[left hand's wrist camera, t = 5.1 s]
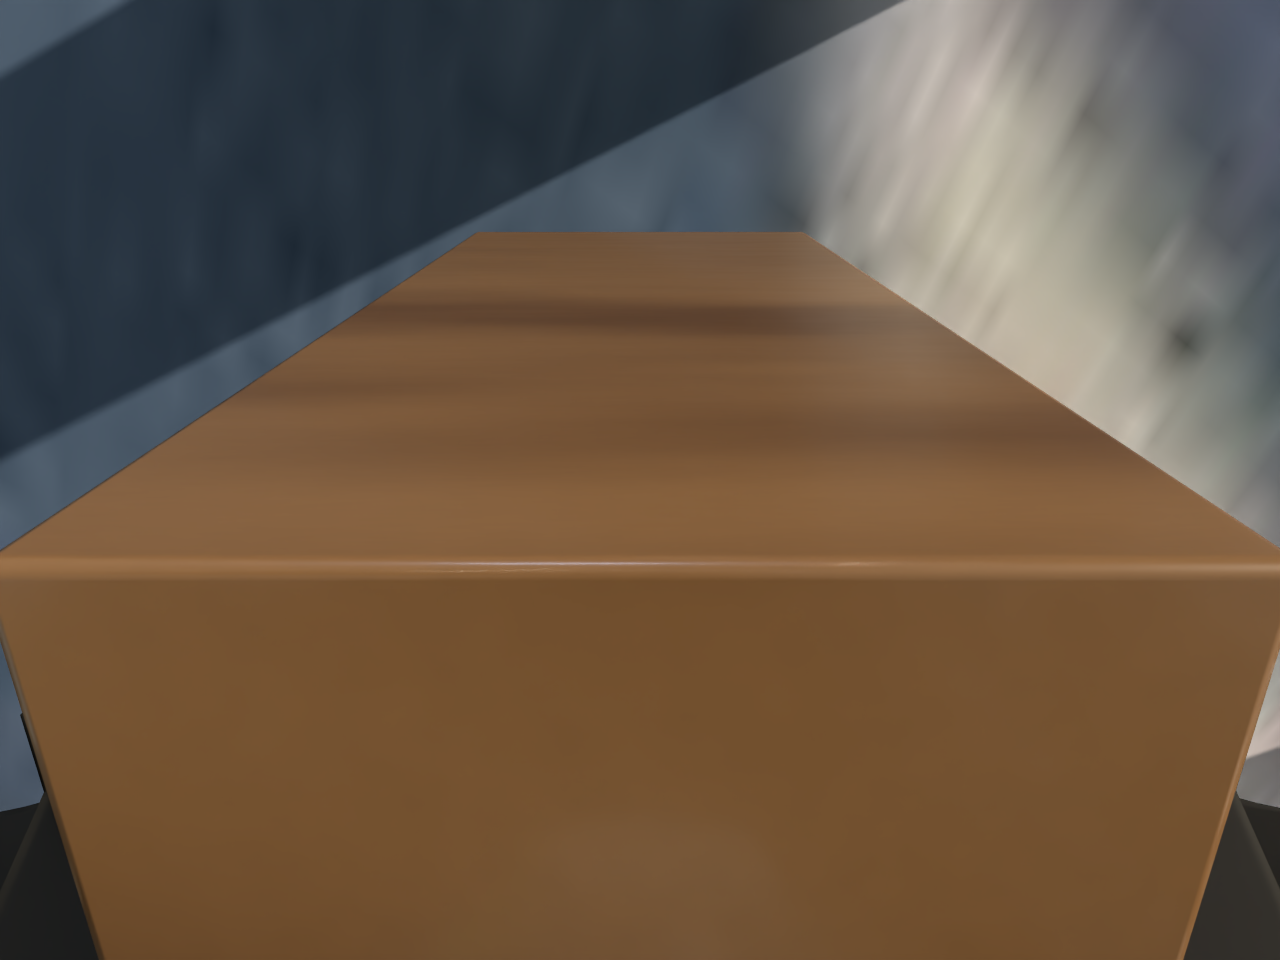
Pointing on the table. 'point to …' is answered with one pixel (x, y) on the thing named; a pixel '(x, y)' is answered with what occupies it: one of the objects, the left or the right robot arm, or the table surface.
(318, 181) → the table surface
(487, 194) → the table surface
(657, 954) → the box
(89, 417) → the table surface
